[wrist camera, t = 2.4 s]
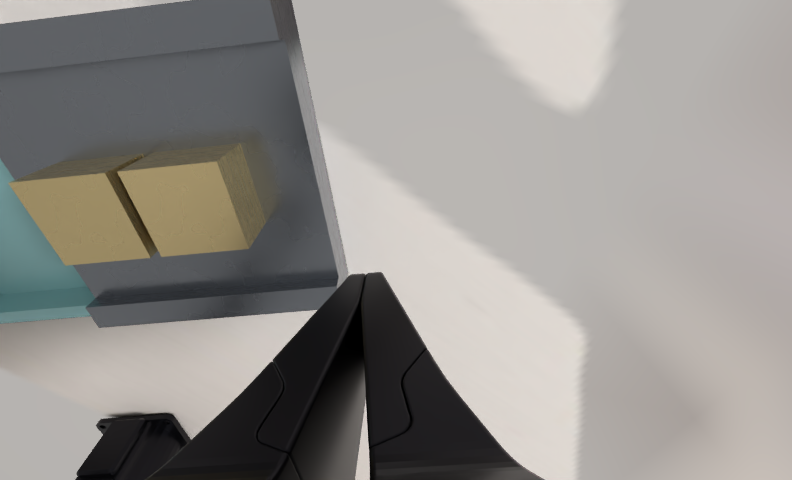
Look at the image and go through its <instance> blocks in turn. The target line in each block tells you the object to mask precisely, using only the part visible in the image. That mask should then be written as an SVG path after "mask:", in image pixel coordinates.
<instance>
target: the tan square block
mask: <svg viewBox="0 0 792 480" xmlns="http://www.w3.org/2000/svg"><path fill="white" fill-rule="evenodd" d="M117 173H118V175H119V177H120V178H121V180H122V182H123V184H124V186H125V188H126V190H127V192H128V194H129V196H130V198H131V200H132V202H133V203H134V205H135V207H136V209H137V211H138V213H139V215H140V217H141V219H142V221H143V223H144V225H145V226H146V228H147V230H148V232H149V234H150V236H151V238H152V240H153V242H154V244H155V246H156V248H157V249H158V251H159V253H160V255H161V257H166V256H177V255H188V254H199V253H210V252H221V251H232V250H243V249H249V248H250V246H251V245H252V243H253V242H254V240H255V239H256V237H257V236H258V234H259V232H260V231H261V229H262V228H263V226H264V225H265V223H266V221H265V218H264V215H263V212H262V208H261V205H260V202H259V199H258V196H257V193H256V190H255V187H254V184H253V181H252V178H251V174H250V171H249V168H248V165H247V162H246V159H245V156H244V153H243V150H242V147H241V144H240V143H238V144H229V145H219V146H210V147H200V148H191V149H181V150H171V151H162V152H153V153H152V154H150V155H148V156H146V157H144V158H142V159H140V160H138V161H136V162H134V163H133V164H131V165H129V166H127V167H125V168H123V169H121V170H119V171H117Z"/></svg>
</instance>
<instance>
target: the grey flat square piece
mask: <svg viewBox="0 0 792 480" xmlns="http://www.w3.org/2000/svg"><path fill="white" fill-rule="evenodd" d="M238 143H240V144H241V147H242V150H243V153H244V156H245V159H246V162H247V165H248V168H249V171H250V174H251V178H252V181H253V184H254V187H255V190H256V193H257V196H258V199H259V202H260V205H261V208H262V212H263V215H264V218H265V221H266V223H265V225H264V226H263V228H262V229H261V231H260V232H259V234H258V236H257V237H256V239H255V240H254V242H253V243H252V245H251V246H250V248H249V249H243V250H232V251H221V252H210V253H199V254H188V255H177V256H166V257H161V255H160V253H159V251H157V252H156V253H155V254H154V255H153V256H152V257H151V258H144V259H133V260H122V261H111V262H100V263H89V264H78V265H73V266H74V268H75V269H76V271H77V272H78V273H79V275H80V276H81V278H82V279H83V281H84V282H85V284H86V285H87V287H88V288H89V290H90V291H91V293H92V294H93V295H94V297H95V299H94V300H93V301H92V302H91V303H90V304H89V305H88V306H86V307H85V308H86V310H87V311H88V313H89V314H90V315H91V317H92V318H93V320H94V321H95V322H96V324H97V325H98V327H99V328H102V327H114V326H126V325H138V324H150V323H163V322H175V321H187V320H199V319H211V318H223V317H236V316H248V315H260V314H272V313H284V312H296V311H309V310H318V309H319V308H320V307H321V306H322V305H323V304H324V303H325V302H326V301H327V299H328V298H329V297H330V296H331V295H332V294H333V293H334V292H335V291H336V290H337V288H338V287H339V286H340V285H341V284H342V283H343V282H344V281H345V280H346V279H347V276H348V269H347V264H346V260H345V255H344V250H343V245H342V240H341V236H340V231H339V226H338V221H337V216H336V212H335V207H334V202H333V197H332V192H331V188H330V183H329V178H328V173H327V168H326V164H325V159H324V154H323V149H322V144H321V140H320V135H319V130H318V125H317V120H316V116H315V111H314V106H313V101H312V96H311V92H310V87H309V82H308V77H307V72H306V68H305V63H304V58H303V54H302V48H301V44H300V39H299V34H298V29H297V24H296V19H295V15H294V10H293V5H292V1H291V0H192V1H183V2H175V3H167V4H159V5H151V6H143V7H135V8H127V9H119V10H111V11H103V12H95V13H87V14H79V15H71V16H62V17H54V18H46V19H38V20H30V21H22V22H14V23H6V24H0V159H1V160H2V162H3V163H4V165H5V166H6V168H7V169H8V171H9V172H10V174H11V175H12V177H13V178H14V180H16V179H19V178H21V177H24V176H26V175H29V174H31V173H33V172H36V171H38V170H41V169H43V168H46V167H48V166H51V165H53V164H56V163H58V162H66V161H76V160H86V159H95V158H105V157H114V156H124V155H133V154H143V155H144V157H146V156H148V155H150V154H152V153H153V152H162V151H171V150H181V149H191V148H200V147H210V146H219V145H229V144H238Z"/></svg>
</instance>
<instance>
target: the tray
mask: <svg viewBox="0 0 792 480" xmlns="http://www.w3.org/2000/svg"><path fill="white" fill-rule="evenodd" d="M11 181H14V178H13V177H12V175H11V174H10V172H9V171H8V169H7V168H6V166H5V165H4V163H3V162H2V160H1V159H0V324H2V323H14V322H26V321H38V320H50V319H62V318H74V317H86V316H91V315H90V314H89V313H88V311H87V310H86V308H85V307H86V306H88V305H89V304H90V303H91V302H92V301H93V300H94V299H95V297H94V295H93V294H92V293H91V291H90V290H89V288H88V287H87V285H86V284H85V282H84V281H83V279H82V278H81V276H80V275H79V273H78V272H77V271H76V269H75V268H74V266H73V265H67V266H65V264H64V263H63V262H62V260H61V259H60V257H59V256H58V254H57V253H56V251H55V250H54V249H53V247H52V246H51V244H50V243H49V241H48V240H47V239H46V237H45V236H44V234H43V233H42V231H41V230H40V228H39V227H38V226H37V224H36V223H35V221H34V220H33V218H32V217H31V216H30V214H29V213H28V211H27V210H26V208H25V207H24V205H23V204H22V203H21V201H20V200H19V198H18V197H17V195H16V194H15V192H14V191H13V190H12V188H11V187H10V185H9V184H8V183H9V182H11Z"/></svg>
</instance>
